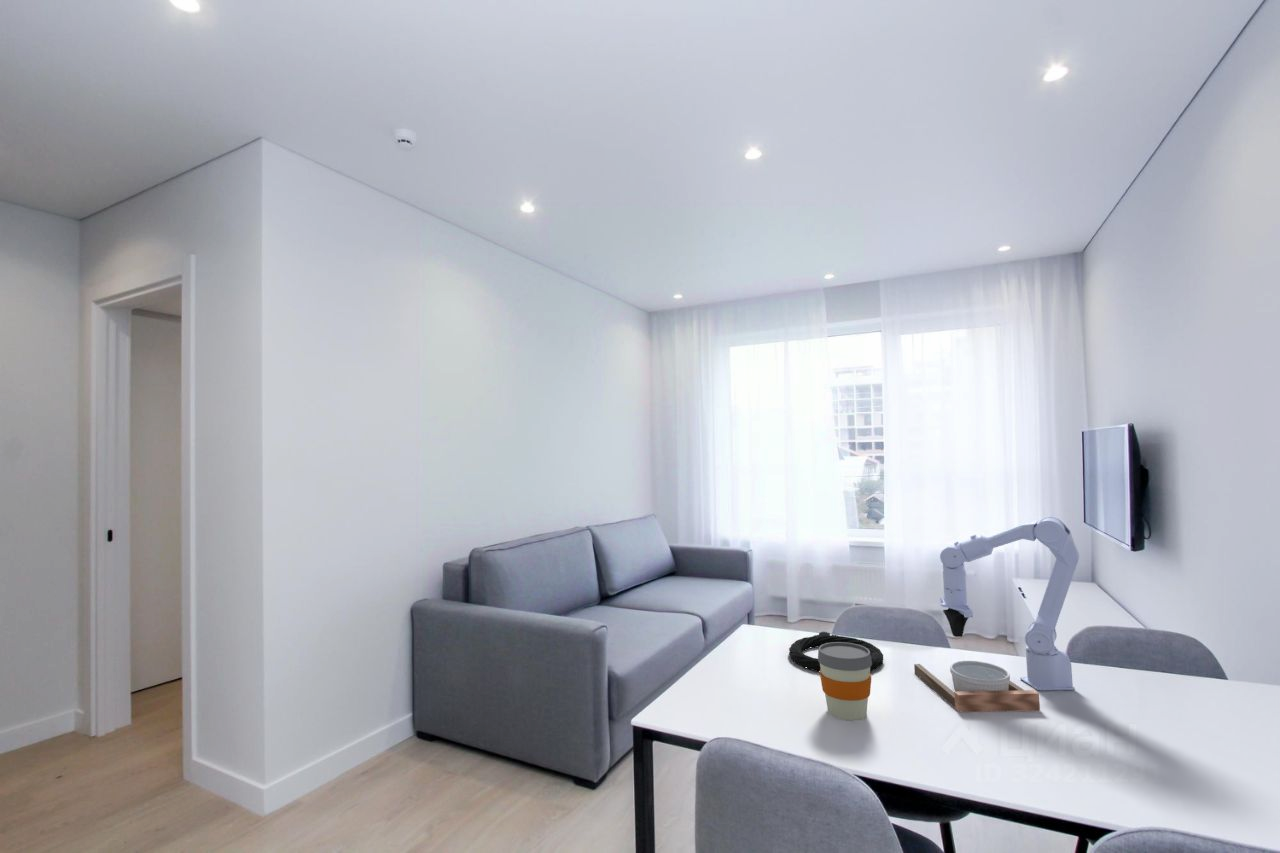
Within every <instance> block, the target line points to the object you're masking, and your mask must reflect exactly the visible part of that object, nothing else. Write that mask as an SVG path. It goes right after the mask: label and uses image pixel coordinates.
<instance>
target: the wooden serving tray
mask: <svg viewBox="0 0 1280 853" xmlns="http://www.w3.org/2000/svg"><path fill="white" fill-rule="evenodd" d="M913 665H914V666H913V667H914V674H915V675H916V676H917V677H919V678H920V679H921V680H922V681H923V682H924V683H925V684H927V685H928V687H930V688H931V689H932V690H934V691H935V692H936V693H937V694H938V695H939V696H940V697H942V698H943V699H944V700H945V701H946V702H947V703H949V704H950V705H951V706H952V707H953V708H954V709H956V710H957V711H958V712H959V713H966V712H967V713H969V712H970V713H972V712H974V713H975V712H976V713H977V712H1026V711H1028V712H1030V711H1033V712H1037V711H1041V707H1040V693H1038V692H1037V691H1035V690H1034V689H1029V690H1028V689H1027V690H1026V689H1023V688H1022V687H1020V686H1019V685H1017V684H1016V683H1014V682H1012V680H1010V681H1009V689H1008V691H964V692H955V691H954V690H952V689H951V688H950V687H948V686H947V685H946V684H945V683H944V682H942V681H941V680H940V679H938V677H937V676H935V675H934V674H933V673H931V672H930V671H929V670H928V669H927V668H925V667H924V666H923V665H922V664H920V663H914V664H913Z"/></svg>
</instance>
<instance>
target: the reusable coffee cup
mask: <svg viewBox="0 0 1280 853" xmlns="http://www.w3.org/2000/svg"><path fill="white" fill-rule="evenodd" d="M817 655H818V656H817V659H818V661H819V663H820V668H821V669H820V672H819V677H820V682H821V689H822V691H823V693H824V694H825V695H824V696H825V701H826V702H825V703H826V708H827V713H828V714H829V715H830V716H832V717H834V718H836V719H839V720H843V721H853V722H854V721H860V720H863V719H865V718H866V717H867V714H868V713H867V712H868V702H869V701H868V700H869V697H870V695H871V685H872V674H871V672H870V667H871V665H872V661H871V655H870V650H869V649H867V648H866V647H864V646H861V645H858V644H853V643H846V642H831V643H826V644H823V645H821V646H819V647H818V652H817Z"/></svg>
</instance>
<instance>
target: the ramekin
mask: <svg viewBox="0 0 1280 853" xmlns="http://www.w3.org/2000/svg"><path fill="white" fill-rule="evenodd" d="M949 666H950V667H949V669H950V670H949V671H950V673H951V674H950V675H951V677H952V678H951V679H952V684H953V688H954V692H964V691H1008V689H1009V681H1011V676H1010V672H1009V671H1008V670H1007V669H1005V668H1004V667H1001V666H999V665H996V664H994V663H988V662H984V661H977V660H960V661H956V662H953V663H952V664H951V665H949Z"/></svg>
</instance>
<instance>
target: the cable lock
mask: <svg viewBox="0 0 1280 853" xmlns="http://www.w3.org/2000/svg"><path fill="white" fill-rule="evenodd" d="M831 642H846V643H853V644H858V645H861V646H864V647H866V648H867V649H869V650H870V655H871V661H872V665H871V667H870V673H871V672H874V671H875V670H877V669H878V668H879V667H881V666H882V665H883V661H884V654H883V652H882V651H881V650H880V648H878V647H877V646H875V645H873V644H872V643H870V642H868V641H866V640H862V639H858V638H856V637H851V636H850V637H849V636H841V635H837V634H835V635H834V634H831V633H830V632H827V631H821V632H818V634H815V635H813V636H807V637H803V638H800V639H797V640H795V641H793V643H792V644H790V646H789V648H788V650H789V652H788V656H790V659H792V661H793V662H794V661H795V662H796V663H795V662H794V663H795V664H797V665H799V666H801V667H803V666H804V667H807V668H810V669H813V670H812V671H814V670H817V671H816V672H818V671H820V669H821V668H820V663H819V661H818V657H817V658H816V657H812V656H809V655H807V654H805V653H803V652H804V651H806V650H809V649H808V648H810V647H814V648H817V647H816V646H821V645H823V644H826V643H831ZM805 649H806V650H805ZM810 649H811V648H810ZM803 650H804V651H803ZM804 667H803V668H804ZM807 668H806V669H807ZM810 669H809V670H810Z"/></svg>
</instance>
